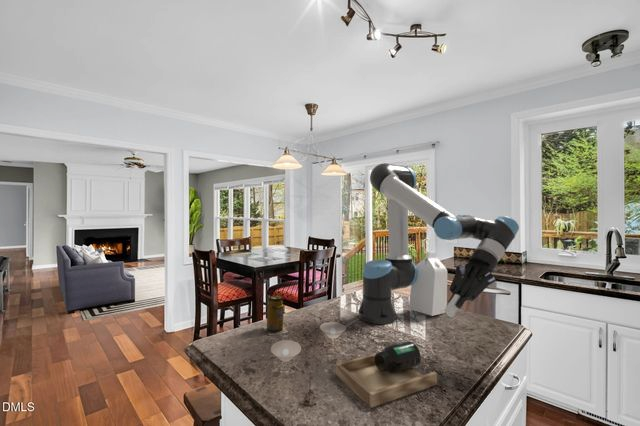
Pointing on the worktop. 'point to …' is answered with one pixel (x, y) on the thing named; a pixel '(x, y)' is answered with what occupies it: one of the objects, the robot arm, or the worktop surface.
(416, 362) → the supplement bottle
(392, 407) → the worktop surface
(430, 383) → the tray
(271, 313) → the condiment
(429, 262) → the milk
